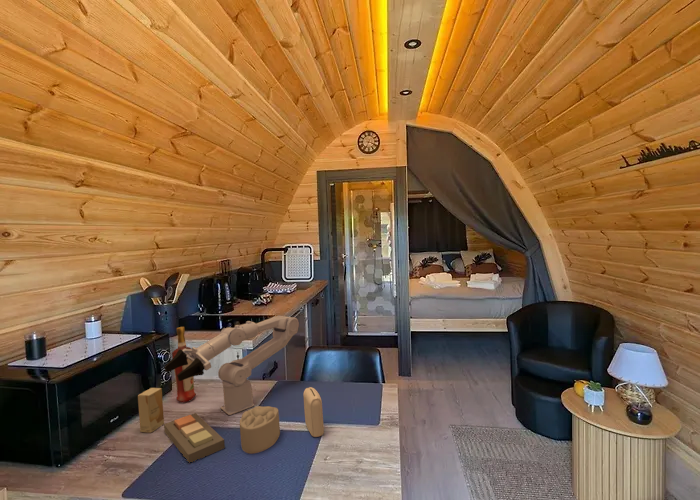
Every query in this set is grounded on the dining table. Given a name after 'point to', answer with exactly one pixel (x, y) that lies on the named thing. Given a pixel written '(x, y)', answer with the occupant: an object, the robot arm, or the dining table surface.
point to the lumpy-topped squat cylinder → (259, 429)
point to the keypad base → (186, 447)
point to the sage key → (200, 438)
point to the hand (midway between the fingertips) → (171, 373)
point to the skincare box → (150, 409)
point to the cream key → (191, 429)
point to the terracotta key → (184, 421)
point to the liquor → (187, 385)
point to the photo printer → (313, 412)
